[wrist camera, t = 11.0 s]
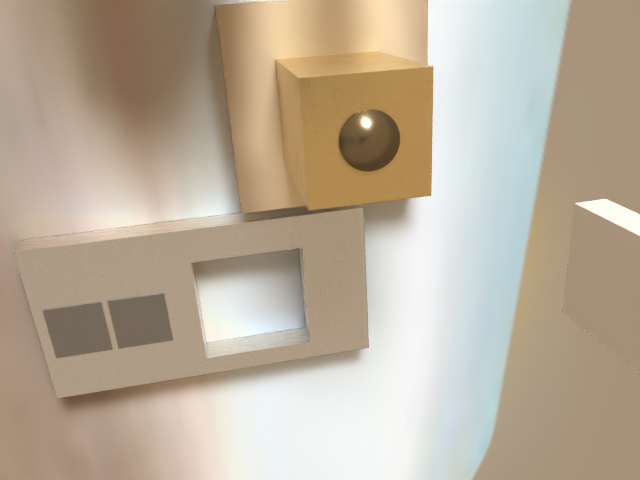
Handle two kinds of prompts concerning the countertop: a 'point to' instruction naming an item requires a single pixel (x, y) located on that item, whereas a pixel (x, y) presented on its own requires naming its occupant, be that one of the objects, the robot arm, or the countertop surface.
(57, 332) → the beige panel with cutout
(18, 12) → the countertop surface
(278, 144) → the pedestal
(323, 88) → the cube with dome knob
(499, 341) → the countertop surface
